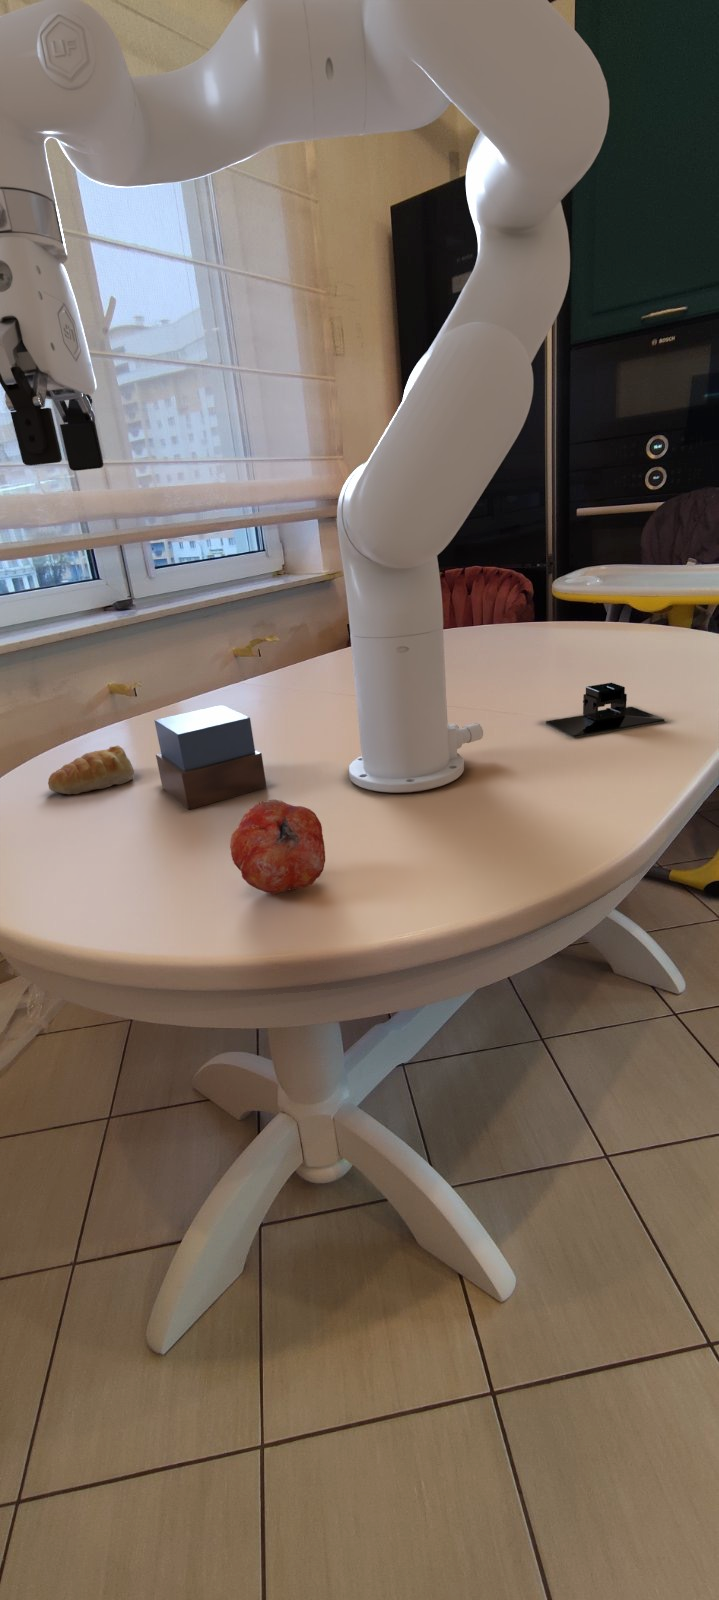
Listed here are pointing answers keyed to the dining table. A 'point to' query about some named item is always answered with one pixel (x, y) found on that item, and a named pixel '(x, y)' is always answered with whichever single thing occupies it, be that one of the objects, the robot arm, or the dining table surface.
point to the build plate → (604, 713)
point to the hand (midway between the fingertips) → (66, 466)
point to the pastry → (92, 772)
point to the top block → (205, 737)
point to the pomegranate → (278, 847)
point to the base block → (212, 779)
